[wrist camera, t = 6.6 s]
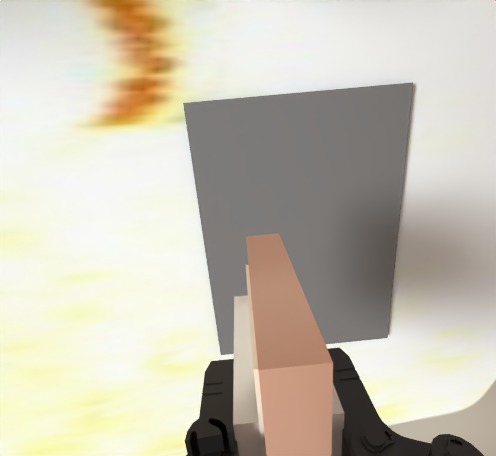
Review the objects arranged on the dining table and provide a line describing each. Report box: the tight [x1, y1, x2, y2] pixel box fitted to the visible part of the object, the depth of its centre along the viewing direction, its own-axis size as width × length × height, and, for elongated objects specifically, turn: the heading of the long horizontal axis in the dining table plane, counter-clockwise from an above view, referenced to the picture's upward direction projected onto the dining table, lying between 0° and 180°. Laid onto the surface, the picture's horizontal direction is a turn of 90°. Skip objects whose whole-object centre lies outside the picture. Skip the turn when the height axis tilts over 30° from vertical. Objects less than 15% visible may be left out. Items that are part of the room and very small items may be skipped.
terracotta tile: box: [246, 233, 333, 456], centre depth 11 cm, size 9×2×8 cm, turn 5°
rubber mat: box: [183, 83, 413, 355], centre depth 23 cm, size 22×16×1 cm
